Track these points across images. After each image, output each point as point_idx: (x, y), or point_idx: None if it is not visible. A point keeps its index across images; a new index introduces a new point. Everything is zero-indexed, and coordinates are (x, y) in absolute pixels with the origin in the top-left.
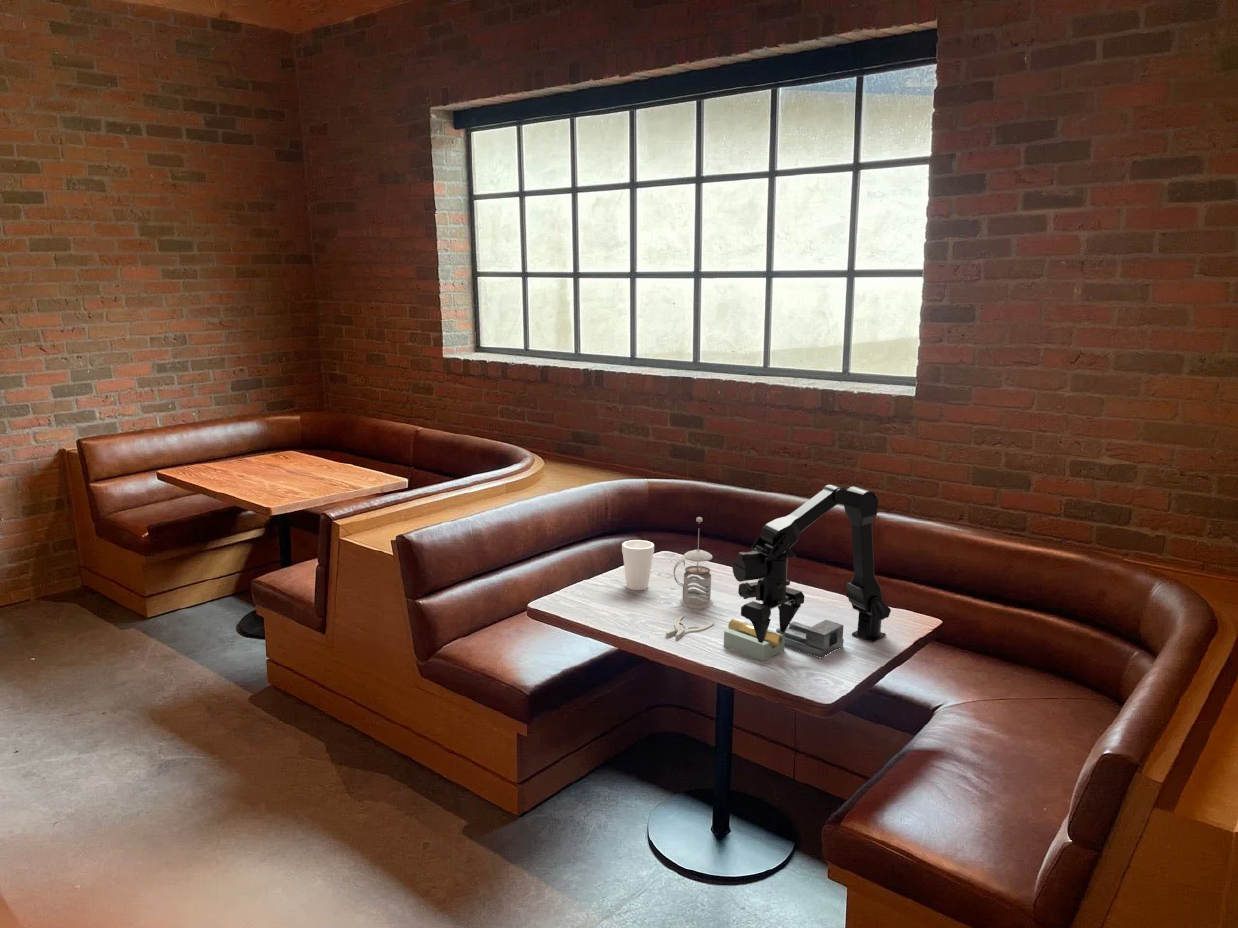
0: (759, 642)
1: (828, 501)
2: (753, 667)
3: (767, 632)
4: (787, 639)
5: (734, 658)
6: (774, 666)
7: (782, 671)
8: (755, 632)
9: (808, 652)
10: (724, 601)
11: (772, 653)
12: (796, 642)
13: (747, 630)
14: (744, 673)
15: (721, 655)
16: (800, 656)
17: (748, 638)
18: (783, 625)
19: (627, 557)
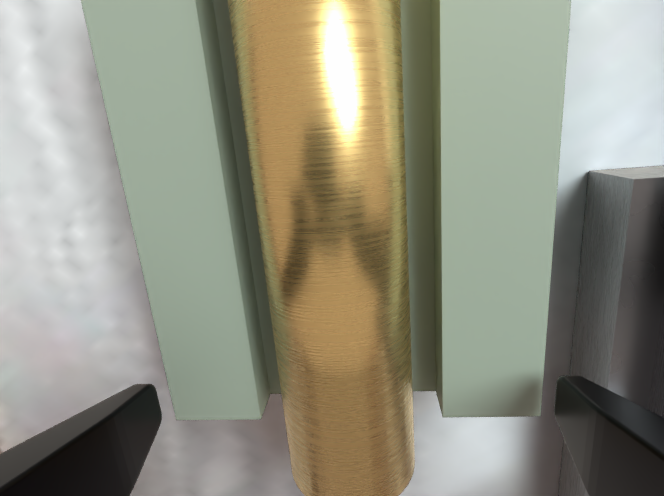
0: (183, 358)
1: None
2: (107, 355)
3: (316, 390)
4: (611, 331)
5: (85, 184)
6: (227, 426)
7: (216, 486)
8: (11, 451)
9: (564, 471)
10: None
11: None
12: None
13: (243, 110)
14: (7, 369)
15: (30, 77)
16: (482, 450)
17: (158, 224)
18: (602, 478)
19: None
